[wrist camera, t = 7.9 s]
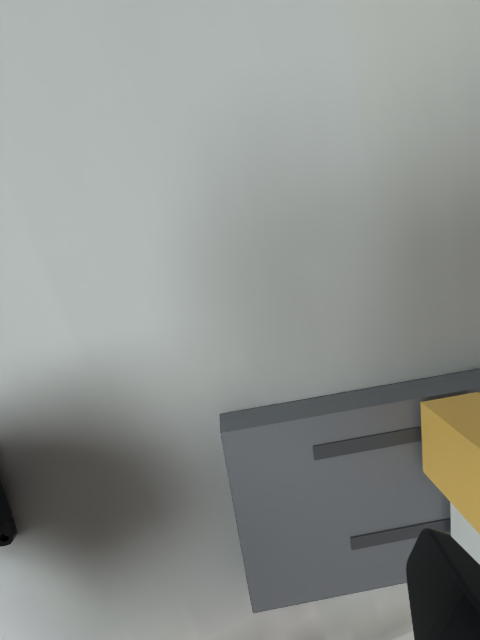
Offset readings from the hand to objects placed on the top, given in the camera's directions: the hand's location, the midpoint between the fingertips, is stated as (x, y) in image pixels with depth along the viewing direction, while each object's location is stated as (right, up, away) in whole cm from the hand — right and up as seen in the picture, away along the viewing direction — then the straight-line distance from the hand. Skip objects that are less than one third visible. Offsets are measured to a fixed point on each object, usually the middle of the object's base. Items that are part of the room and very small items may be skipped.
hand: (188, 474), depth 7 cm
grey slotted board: (+9, -6, +15) cm, 18 cm away
